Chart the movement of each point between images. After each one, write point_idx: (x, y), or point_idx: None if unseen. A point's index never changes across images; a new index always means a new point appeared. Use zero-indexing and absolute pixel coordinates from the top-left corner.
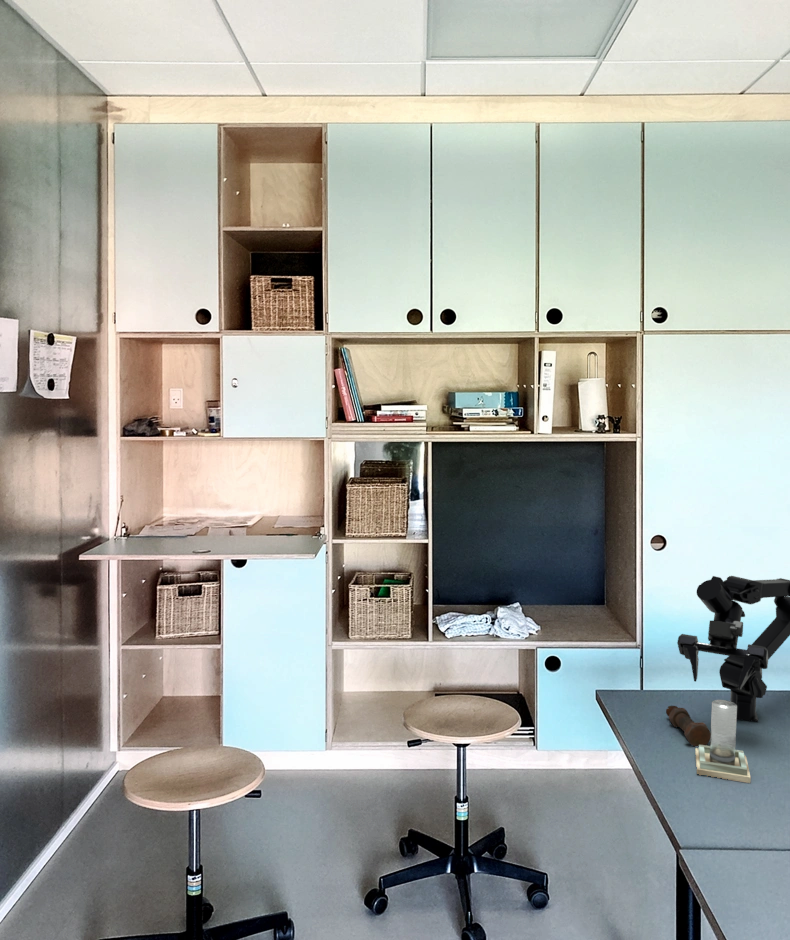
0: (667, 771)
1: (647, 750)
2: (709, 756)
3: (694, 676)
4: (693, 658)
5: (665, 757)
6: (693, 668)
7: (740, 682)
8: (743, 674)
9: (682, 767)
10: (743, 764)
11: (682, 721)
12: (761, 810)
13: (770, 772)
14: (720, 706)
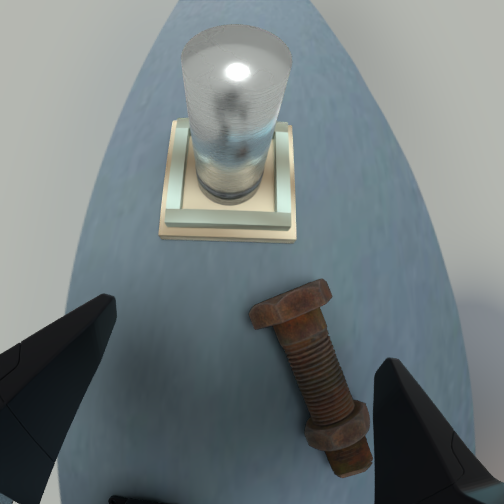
0: (348, 135)
1: (400, 225)
2: (260, 197)
3: (402, 370)
4: (465, 469)
5: (361, 199)
6: (431, 408)
7: (87, 311)
8: (40, 343)
9: (321, 159)
10: (180, 140)
11: (339, 369)
12: (180, 53)
13: (115, 194)
14: (256, 37)
